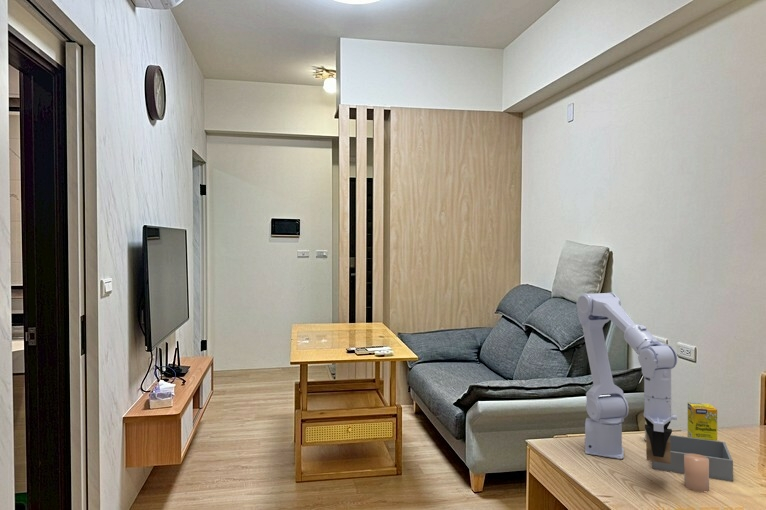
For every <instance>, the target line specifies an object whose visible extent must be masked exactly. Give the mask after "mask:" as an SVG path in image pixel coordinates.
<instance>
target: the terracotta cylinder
mask: <svg viewBox="0 0 766 510" xmlns="http://www.w3.org/2000/svg"><path fill="white" fill-rule="evenodd" d="M683 479H684V480H683V481H684V483H683V484H684V487H685V488H686V489H688V490H690V491H693V492H697V493H698V492H699V493H705V492H704V491H707V492H709V491H710V478H709V459H708V458H707V457H705V456H703V455H699V454H693V453H689V454H685V455H684V475H683Z"/></svg>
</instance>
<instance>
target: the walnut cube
mask: <svg viewBox="0 0 766 510" xmlns="http://www.w3.org/2000/svg"><path fill="white" fill-rule="evenodd" d="M645 441H646V446H645V447H646V450H645V451H646V453H645V454H646V455H645V456H646V461H648V462H652V461H654V462H661V463H667V464H671V443H670V437H669V438H668V441H667V444H666V449H665V453H664V457H656V456H653V453H652V448H651V442H650V439H649V436H648V434H647V433H646V440H645Z"/></svg>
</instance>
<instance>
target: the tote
mask: <svg viewBox="0 0 766 510" xmlns="http://www.w3.org/2000/svg"><path fill="white" fill-rule="evenodd" d="M670 443H671V464H667V463H661V462H654V461H651V463H652V465H651V466H652V467H651V468H652V469H653V470H659V471H664V470H665V472H670V471H672V472H673V473H677V472H678V473H677V474H684V455H685V454H689V453H693V454H699V455H703V456H705V457H707V458H708V459H709V477H710V478H709V479H715V480H722V481H728V482H734V460H733V458H732V455H731V453H730V450H729V449H728V445H727V444H726V442H725V441H719V440H717V441H714V440H706V439H698V438H691V437H688V436H684V435H683V436H681V435H675V434H674V435H673V434H671V435H670ZM672 472H671V473H672Z"/></svg>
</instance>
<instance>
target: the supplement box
mask: <svg viewBox="0 0 766 510" xmlns="http://www.w3.org/2000/svg"><path fill="white" fill-rule="evenodd" d="M687 437H691V438H698V439H706V440H714V441H718V409H717V408H716V407H714V405H712V404H711V403H700V402H698V403H696V402H687Z"/></svg>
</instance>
